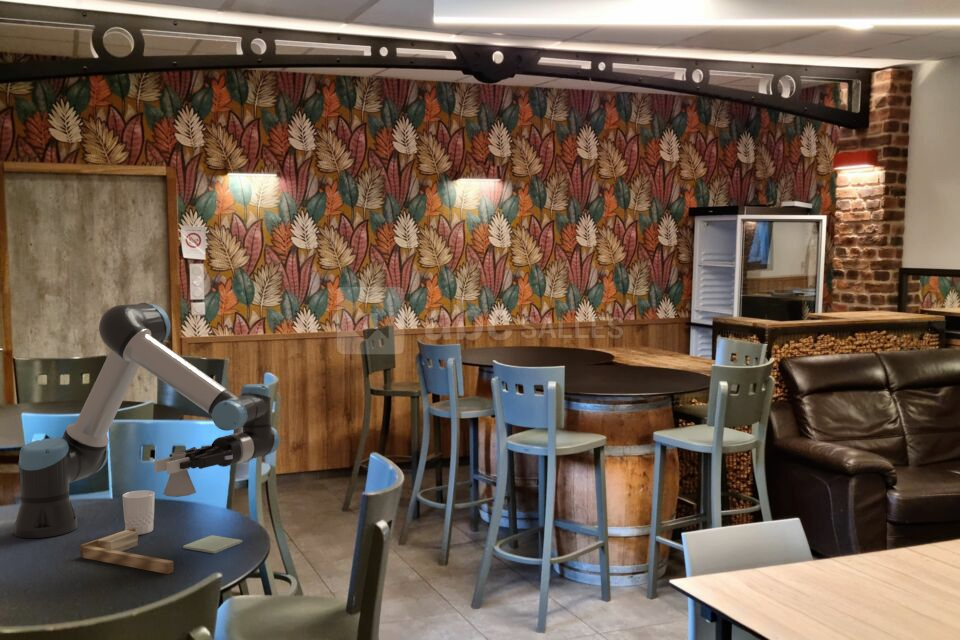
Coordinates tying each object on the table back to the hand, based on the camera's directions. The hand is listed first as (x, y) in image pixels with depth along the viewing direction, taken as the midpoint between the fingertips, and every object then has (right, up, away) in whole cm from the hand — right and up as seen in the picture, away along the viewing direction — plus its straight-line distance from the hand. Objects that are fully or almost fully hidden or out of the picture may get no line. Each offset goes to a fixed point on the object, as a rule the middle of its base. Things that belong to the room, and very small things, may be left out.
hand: (161, 467), depth 214 cm
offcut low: (-15, -23, +11) cm, 29 cm away
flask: (+2, -8, +5) cm, 10 cm away
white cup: (-15, -21, +26) cm, 37 cm away
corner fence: (-5, -22, +6) cm, 23 cm away
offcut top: (-14, -21, +11) cm, 27 cm away
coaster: (+8, -22, +14) cm, 27 cm away
